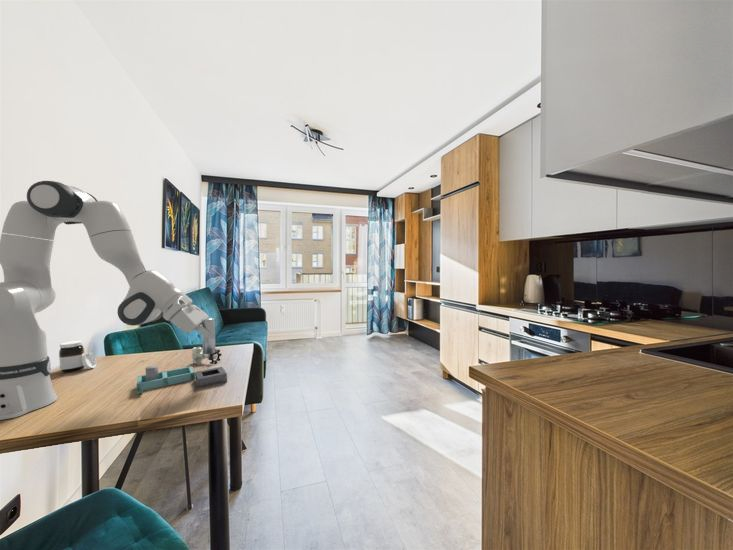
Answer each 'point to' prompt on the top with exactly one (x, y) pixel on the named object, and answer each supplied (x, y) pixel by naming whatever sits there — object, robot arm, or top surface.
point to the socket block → (210, 377)
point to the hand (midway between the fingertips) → (210, 333)
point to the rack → (163, 377)
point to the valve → (204, 355)
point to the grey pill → (209, 336)
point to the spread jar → (75, 357)
